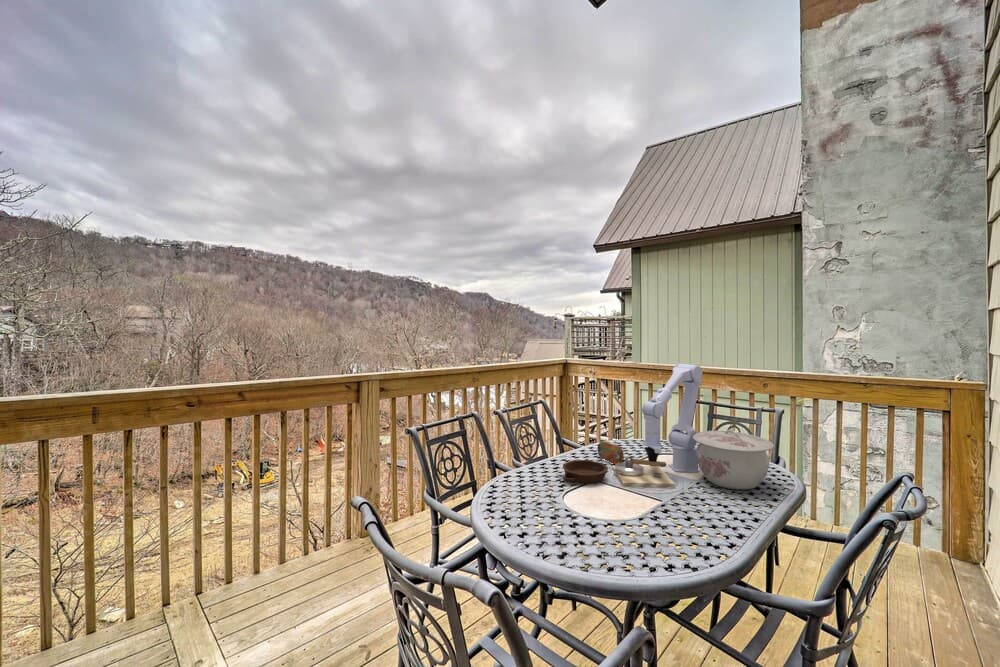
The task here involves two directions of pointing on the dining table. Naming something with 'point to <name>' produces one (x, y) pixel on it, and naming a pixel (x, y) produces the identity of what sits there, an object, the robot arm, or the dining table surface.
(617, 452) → the tin
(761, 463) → the chamber pot
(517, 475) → the dining table surface
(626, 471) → the metal disc with handle
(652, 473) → the record player
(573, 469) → the dish
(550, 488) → the dining table surface
